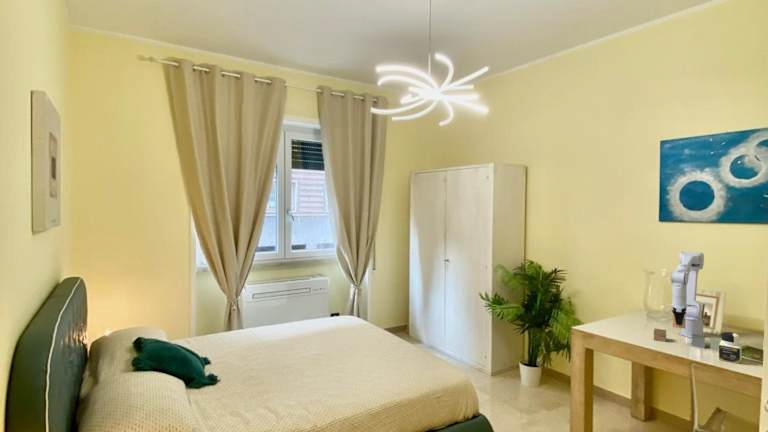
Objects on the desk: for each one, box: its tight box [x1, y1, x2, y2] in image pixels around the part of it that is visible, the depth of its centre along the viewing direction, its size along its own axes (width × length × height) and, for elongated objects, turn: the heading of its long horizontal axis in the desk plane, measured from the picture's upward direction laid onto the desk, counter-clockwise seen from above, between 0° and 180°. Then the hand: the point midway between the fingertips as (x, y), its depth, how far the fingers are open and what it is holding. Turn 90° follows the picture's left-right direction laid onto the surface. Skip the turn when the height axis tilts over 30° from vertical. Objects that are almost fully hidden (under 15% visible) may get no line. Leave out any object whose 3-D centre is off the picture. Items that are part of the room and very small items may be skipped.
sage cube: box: [709, 336, 722, 352], centre depth 196 cm, size 5×5×5 cm
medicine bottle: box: [718, 331, 743, 365], centre depth 182 cm, size 7×7×12 cm
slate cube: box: [691, 334, 706, 349], centre depth 201 cm, size 5×5×5 cm
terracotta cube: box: [672, 314, 686, 329], centre depth 203 cm, size 5×5×5 cm
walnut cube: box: [653, 328, 667, 343], centre depth 210 cm, size 5×5×5 cm
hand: (679, 323), depth 203 cm, fingers closed on terracotta cube, 5 cm apart
